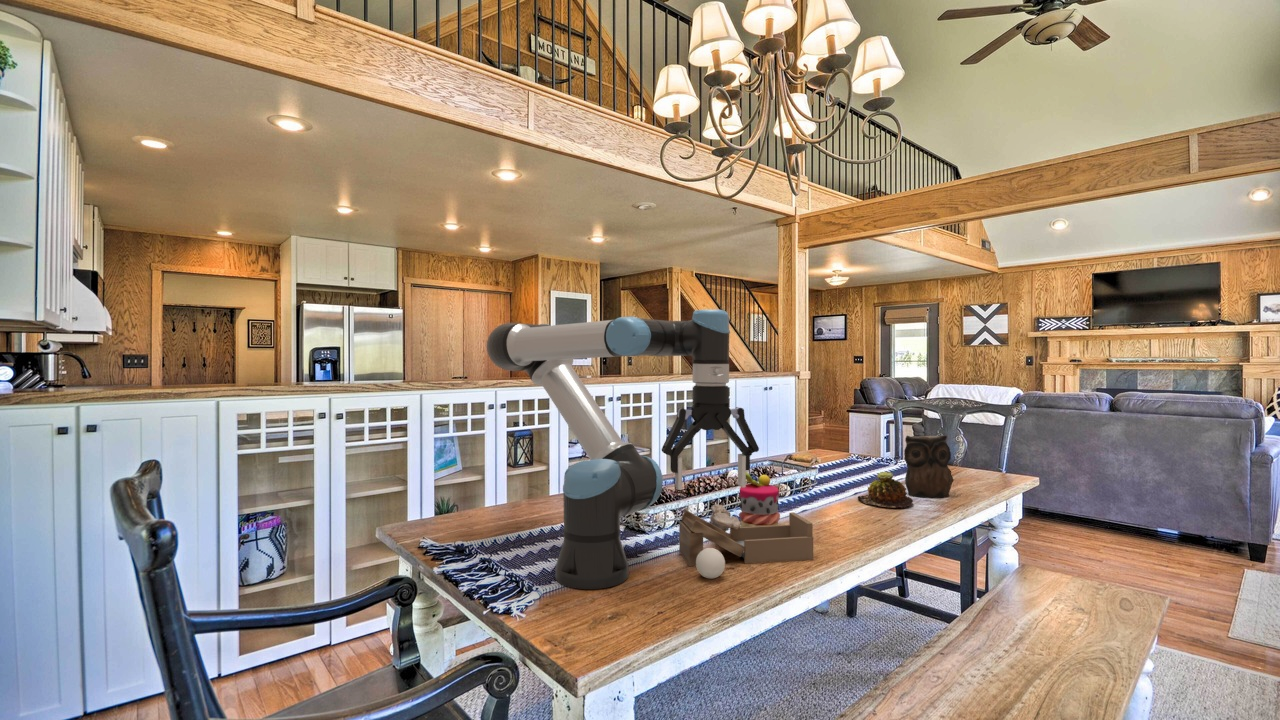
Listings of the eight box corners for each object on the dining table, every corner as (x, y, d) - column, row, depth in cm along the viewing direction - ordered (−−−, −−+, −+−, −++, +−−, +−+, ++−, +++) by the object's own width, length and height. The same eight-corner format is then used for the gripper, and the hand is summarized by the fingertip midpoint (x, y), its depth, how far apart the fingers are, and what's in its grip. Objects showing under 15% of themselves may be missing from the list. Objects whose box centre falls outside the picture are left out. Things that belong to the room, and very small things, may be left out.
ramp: (689, 566, 130) (689, 521, 130) (679, 552, 140) (679, 510, 140) (745, 562, 132) (745, 518, 132) (731, 549, 142) (731, 507, 142)
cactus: (852, 496, 198) (852, 466, 198) (902, 497, 196) (902, 467, 196) (865, 509, 181) (865, 476, 181) (920, 510, 179) (920, 477, 179)
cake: (766, 522, 166) (766, 467, 166) (787, 532, 156) (787, 474, 156) (732, 525, 162) (732, 470, 162) (751, 536, 152) (751, 477, 152)
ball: (700, 584, 120) (700, 554, 120) (692, 573, 126) (692, 544, 126) (729, 582, 121) (728, 552, 121) (720, 571, 127) (719, 543, 127)
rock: (721, 538, 139) (705, 511, 141) (716, 537, 153) (701, 512, 155) (743, 525, 140) (726, 498, 142) (735, 525, 154) (721, 500, 155)
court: (745, 563, 132) (745, 527, 132) (729, 548, 142) (729, 515, 142) (813, 559, 134) (813, 523, 134) (793, 545, 145) (793, 512, 145)
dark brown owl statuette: (954, 496, 196) (954, 435, 196) (934, 501, 189) (934, 438, 189) (917, 489, 206) (917, 431, 206) (897, 494, 199) (897, 434, 199)
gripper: (655, 385, 118) (655, 493, 118) (774, 385, 122) (774, 488, 122) (648, 384, 125) (647, 485, 125) (760, 383, 130) (760, 481, 130)
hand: (710, 487), depth 124 cm, fingers open, 13 cm apart
